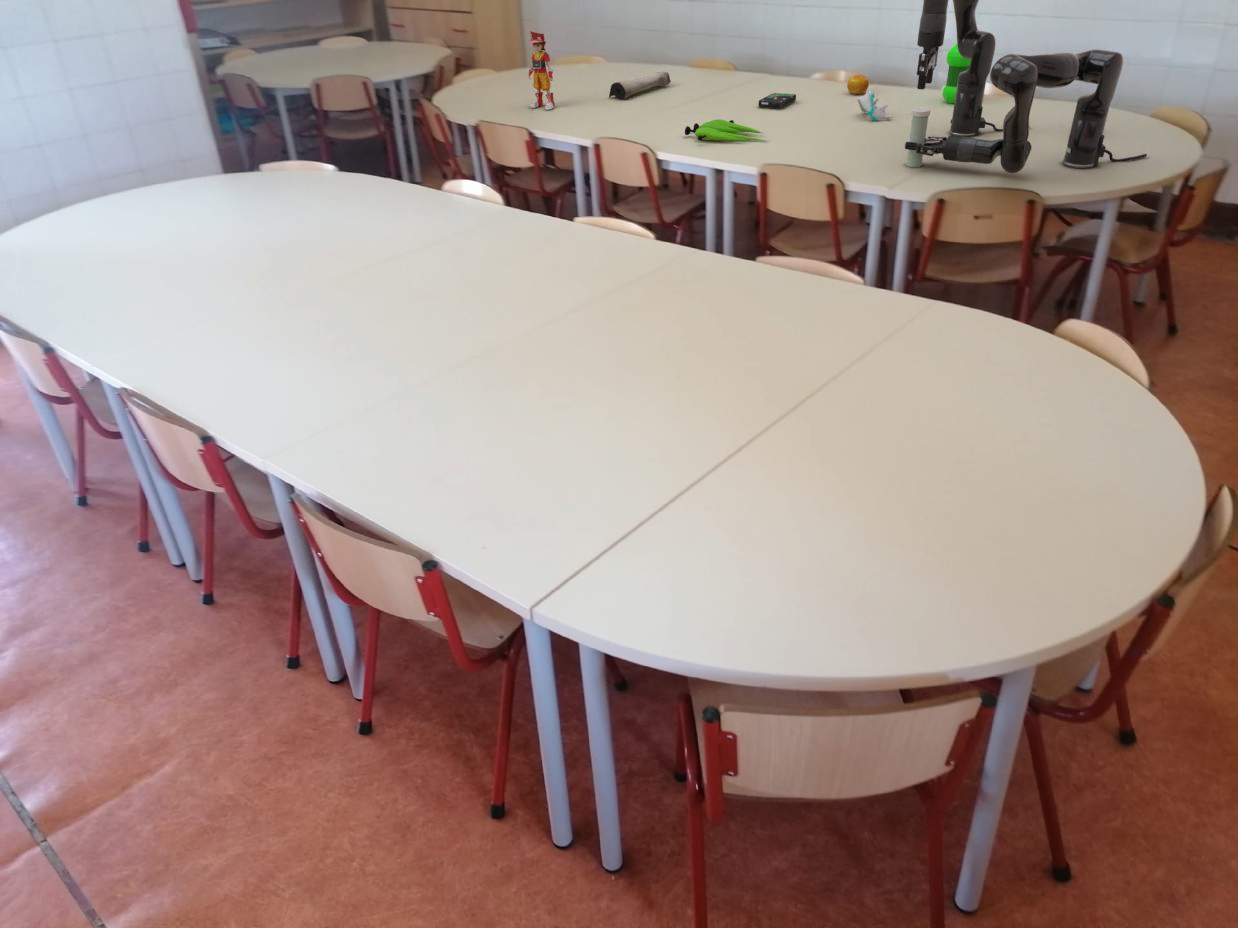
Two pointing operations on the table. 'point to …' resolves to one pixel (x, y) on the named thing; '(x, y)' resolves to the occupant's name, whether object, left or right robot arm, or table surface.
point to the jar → (917, 140)
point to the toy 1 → (541, 71)
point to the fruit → (857, 84)
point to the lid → (920, 112)
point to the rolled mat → (638, 84)
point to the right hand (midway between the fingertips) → (908, 143)
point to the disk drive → (777, 100)
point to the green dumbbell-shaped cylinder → (954, 73)
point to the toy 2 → (721, 131)
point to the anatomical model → (872, 107)
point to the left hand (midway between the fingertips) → (924, 86)
